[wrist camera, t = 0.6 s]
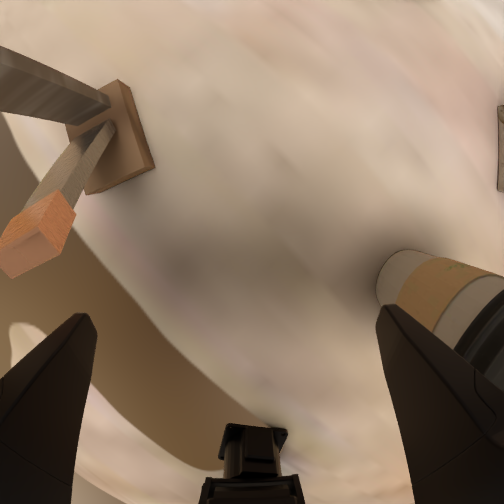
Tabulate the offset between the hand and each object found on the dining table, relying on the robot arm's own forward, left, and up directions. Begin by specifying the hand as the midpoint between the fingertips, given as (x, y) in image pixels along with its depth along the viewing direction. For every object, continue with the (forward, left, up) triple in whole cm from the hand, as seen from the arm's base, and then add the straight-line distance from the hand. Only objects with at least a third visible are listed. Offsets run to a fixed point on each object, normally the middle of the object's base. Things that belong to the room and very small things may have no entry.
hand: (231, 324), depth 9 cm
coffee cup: (-1, -15, -15) cm, 21 cm away
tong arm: (+6, +11, -12) cm, 17 cm away
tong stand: (+6, +11, -15) cm, 19 cm away
